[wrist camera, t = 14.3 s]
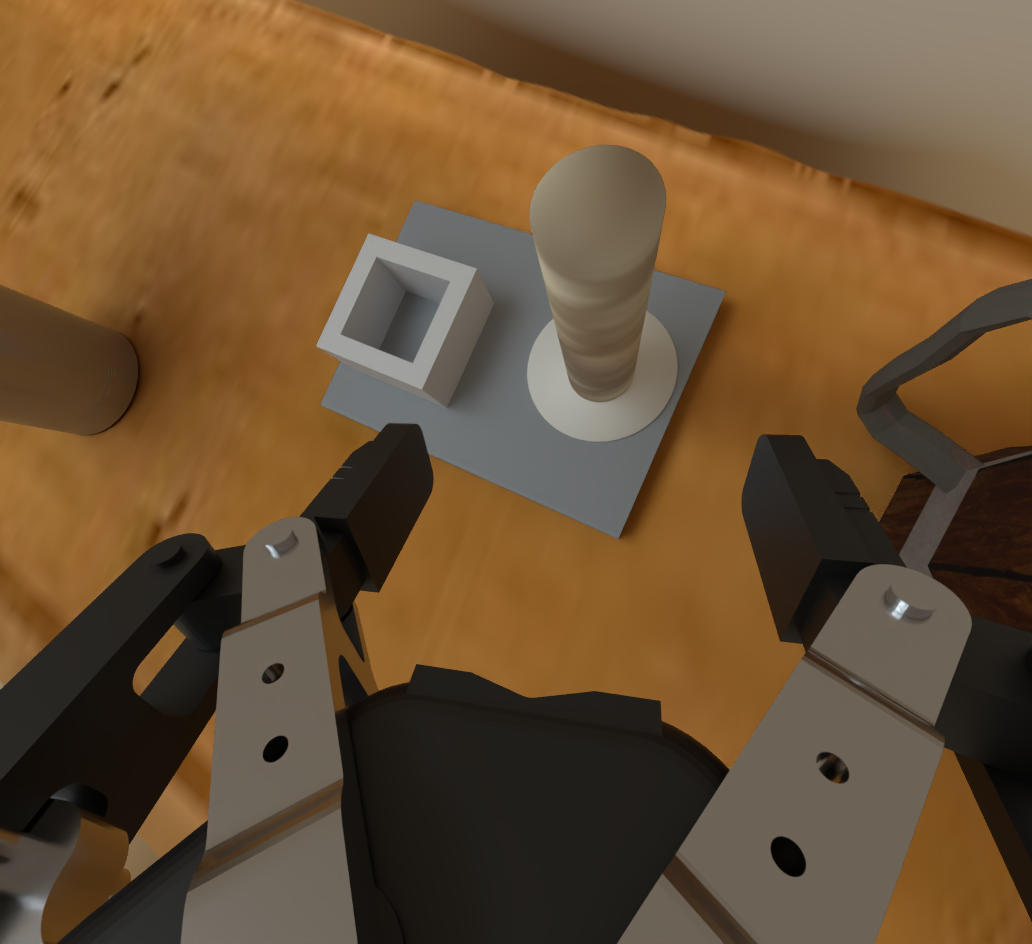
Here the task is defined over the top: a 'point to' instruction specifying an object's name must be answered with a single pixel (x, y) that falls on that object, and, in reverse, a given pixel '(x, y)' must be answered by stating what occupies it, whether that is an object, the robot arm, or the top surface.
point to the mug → (958, 478)
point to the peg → (599, 260)
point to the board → (504, 364)
